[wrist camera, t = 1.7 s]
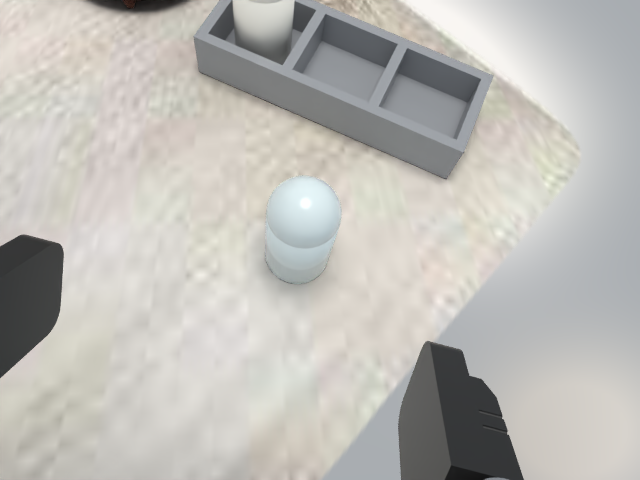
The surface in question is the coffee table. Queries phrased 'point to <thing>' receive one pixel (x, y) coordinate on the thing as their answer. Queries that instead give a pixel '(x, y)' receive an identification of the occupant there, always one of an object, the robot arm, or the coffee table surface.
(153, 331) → the coffee table surface
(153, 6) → the coffee table surface
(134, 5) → the wooden spool stand
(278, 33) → the white cylinder
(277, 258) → the pale blue dome-topped cylinder
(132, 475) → the coffee table surface
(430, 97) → the tray
